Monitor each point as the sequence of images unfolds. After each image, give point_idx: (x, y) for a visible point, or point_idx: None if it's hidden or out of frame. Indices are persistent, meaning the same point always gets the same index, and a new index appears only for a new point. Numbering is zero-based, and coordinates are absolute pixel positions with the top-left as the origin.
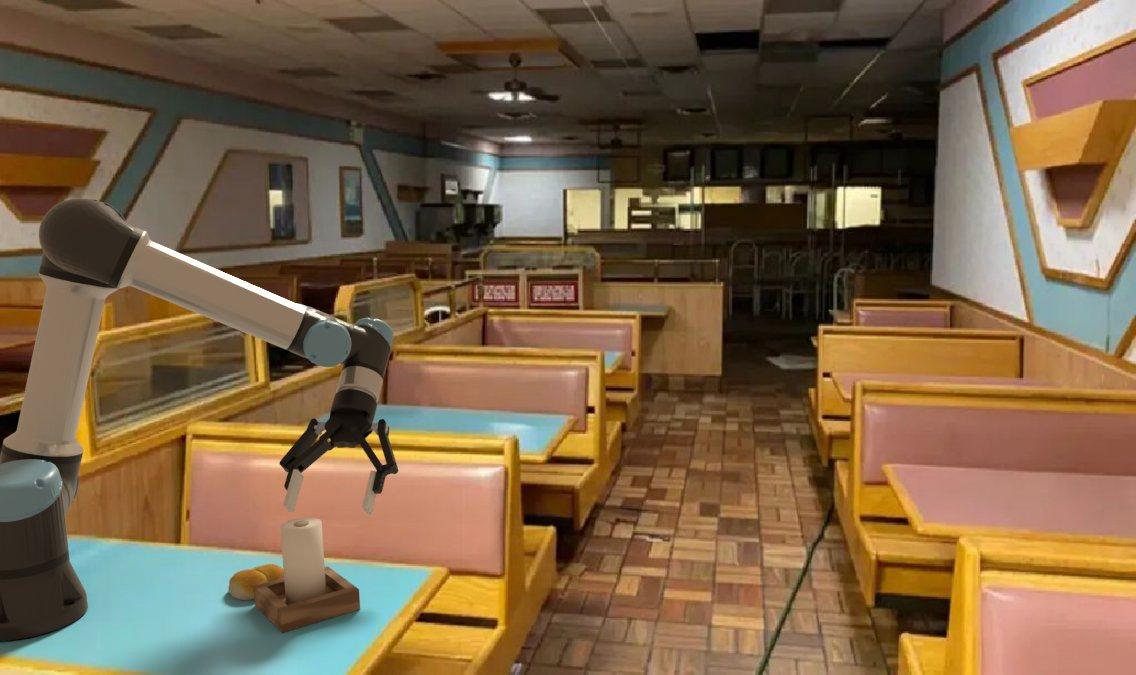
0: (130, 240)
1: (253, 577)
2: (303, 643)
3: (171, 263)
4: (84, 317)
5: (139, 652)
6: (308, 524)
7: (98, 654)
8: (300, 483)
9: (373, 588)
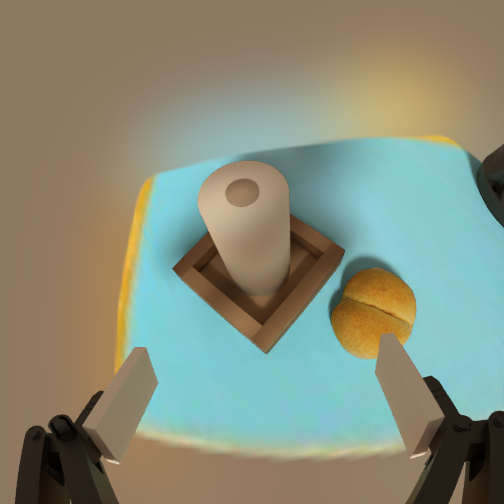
0: None
1: (368, 279)
2: None
3: None
4: None
5: (376, 155)
6: (225, 196)
7: (406, 150)
8: (403, 429)
9: (188, 351)
